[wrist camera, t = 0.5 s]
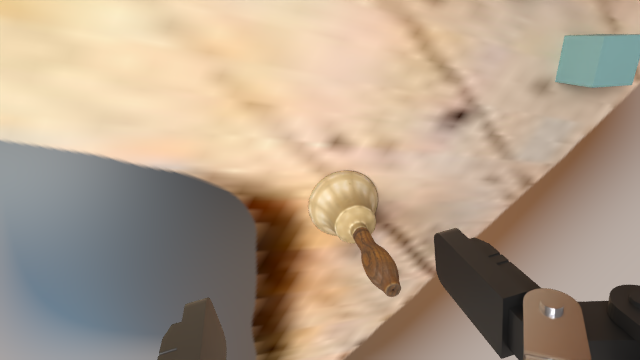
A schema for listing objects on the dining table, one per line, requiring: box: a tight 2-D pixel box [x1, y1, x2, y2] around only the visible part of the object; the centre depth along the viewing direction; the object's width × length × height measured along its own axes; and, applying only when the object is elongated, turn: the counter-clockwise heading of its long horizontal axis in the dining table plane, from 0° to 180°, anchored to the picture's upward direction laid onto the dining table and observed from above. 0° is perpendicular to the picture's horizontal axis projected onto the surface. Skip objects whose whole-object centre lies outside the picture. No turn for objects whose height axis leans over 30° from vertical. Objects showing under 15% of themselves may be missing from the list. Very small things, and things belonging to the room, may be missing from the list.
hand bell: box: [308, 171, 401, 297], centre depth 36 cm, size 8×8×16 cm
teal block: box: [555, 34, 640, 88], centre depth 40 cm, size 5×5×5 cm
